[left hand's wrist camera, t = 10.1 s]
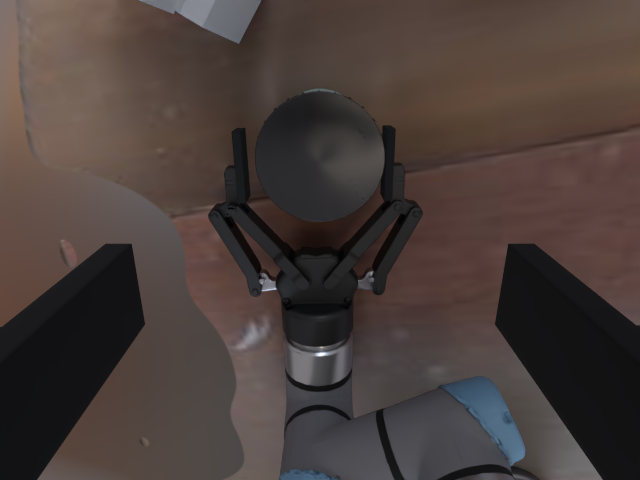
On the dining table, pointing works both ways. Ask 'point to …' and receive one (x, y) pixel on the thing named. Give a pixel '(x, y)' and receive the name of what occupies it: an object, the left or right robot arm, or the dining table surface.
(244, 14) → the electronic device
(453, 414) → the right robot arm
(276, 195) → the lid
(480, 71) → the dining table surface
